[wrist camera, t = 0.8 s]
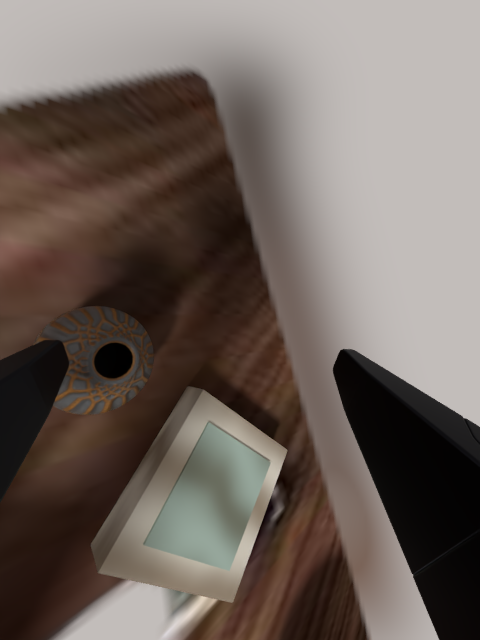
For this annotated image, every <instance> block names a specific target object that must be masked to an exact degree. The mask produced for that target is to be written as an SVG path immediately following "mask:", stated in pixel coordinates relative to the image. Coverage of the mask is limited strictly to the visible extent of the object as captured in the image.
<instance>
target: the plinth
mask: <svg viewBox="0 0 480 640" xmlns="http://www.w3.org/2000/svg"><path fill="white" fill-rule="evenodd" d="M286 453H287V449H285V448H284V447H282V446H281V445H280V444H278V443H277V442H275V441H274V440H273V439H271V438H270V437H268V436H267V435H266V434H264V433H263V432H262V431H260V430H259V429H257V428H256V427H255V426H253V425H252V424H250V423H249V422H248V421H246V420H245V419H244V418H242V417H241V416H239V415H238V414H237V413H235V412H234V411H232V410H231V409H230V408H228V407H227V406H226V405H224V404H223V403H221V402H220V401H219V400H217V399H216V398H214V397H213V396H212V395H210V394H209V393H208V392H206V391H205V390H203V389H199V388H195V387H190V386H187V388H186V389H185V391H184V393H183V394H182V396H181V398H180V399H179V401H178V403H177V404H176V406H175V407H174V409H173V411H172V412H171V414H170V416H169V417H168V419H167V420H166V422H165V424H164V425H163V427H162V429H161V430H160V432H159V434H158V435H157V437H156V438H155V440H154V442H153V443H152V445H151V447H150V448H149V450H148V452H147V453H146V455H145V456H144V458H143V460H142V461H141V463H140V465H139V466H138V468H137V470H136V471H135V473H134V474H133V476H132V478H131V479H130V481H129V483H128V484H127V486H126V488H125V489H124V491H123V492H122V494H121V496H120V497H119V499H118V501H117V502H116V504H115V506H114V507H113V509H112V510H111V512H110V514H109V515H108V517H107V519H106V520H105V522H104V524H103V525H102V527H101V528H100V530H99V532H98V533H97V535H96V537H95V538H94V540H93V542H92V543H91V548H92V552H93V556H94V560H95V564H96V568H97V572H98V573H100V574H105V575H109V576H114V577H118V578H123V579H127V580H132V581H136V582H141V583H145V584H150V585H155V586H159V587H164V588H168V589H173V590H177V591H182V592H186V593H191V594H195V595H200V596H204V597H209V598H213V599H218V600H223V601H227V602H232V603H233V601H234V598H235V595H236V592H237V589H238V587H239V584H240V581H241V578H242V575H243V573H244V570H245V567H246V564H247V562H248V559H249V556H250V553H251V550H252V548H253V545H254V542H255V539H256V537H257V534H258V531H259V528H260V525H261V523H262V520H263V517H264V514H265V511H266V509H267V506H268V503H269V500H270V498H271V495H272V492H273V489H274V486H275V484H276V481H277V478H278V475H279V473H280V470H281V467H282V464H283V461H284V459H285V456H286Z"/></svg>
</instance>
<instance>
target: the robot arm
mask: <svg viewBox="0 0 480 640" xmlns="http://www.w3.org/2000/svg"><path fill="white" fill-rule="evenodd" d="M68 368H69V359H68V356H67V353H66V350H65V347H64V344H63V342H62V341H60V340H43V341H41V342H39V343H37V344H35V345H32V346H30V347H28V348H26V349H24V350H22V351H19V352H17V353H15V354H13V355H11V356H9V357H6V358H4V359H2V360H0V502H1V500H2V499H3V497H4V495H5V493H6V491H7V489H8V488H9V486H10V484H11V482H12V480H13V479H14V477H15V475H16V473H17V471H18V470H19V468H20V466H21V464H22V462H23V461H24V459H25V457H26V455H27V453H28V451H29V450H30V448H31V446H32V444H33V442H34V441H35V439H36V437H37V435H38V433H39V432H40V430H41V428H42V426H43V424H44V423H45V421H46V419H47V417H48V415H49V413H50V411H51V409H52V406H53V404H54V402H55V399H56V397H57V394H58V392H59V390H60V387H61V385H62V382H63V380H64V378H65V375H66V373H67V370H68ZM333 374H334V377H335V380H336V384H337V387H338V390H339V394H340V397H341V401H342V404H343V407H344V410H345V413H346V416H347V418H348V421H349V423H350V425H351V428H352V430H353V433H354V435H355V438H356V440H357V443H358V445H359V447H360V450H361V452H362V454H363V457H364V459H365V462H366V464H367V466H368V469H369V471H370V474H371V476H372V478H373V481H374V483H375V486H376V488H377V490H378V493H379V495H380V498H381V500H382V503H383V505H384V507H385V510H386V512H387V515H388V517H389V519H390V522H391V524H392V526H393V529H394V532H395V534H396V536H397V539H398V541H399V543H400V546H401V548H402V551H403V553H404V556H405V558H406V560H407V563H408V565H409V567H410V570H411V572H412V574H413V578H414V580H415V582H416V585H417V587H418V590H419V592H420V594H421V597H422V599H423V602H424V604H425V606H426V609H427V611H428V614H429V616H430V618H431V621H432V623H433V626H434V628H435V631H436V633H437V635H438V638H439V640H480V427H479V426H477V425H476V424H474V423H473V422H471V421H469V420H468V419H465V418H463V417H462V416H461V415H459V414H458V413H456V412H455V411H453V410H451V409H449V408H448V407H446V406H445V405H443V404H441V403H440V402H438V401H436V400H435V399H433V398H431V397H430V396H428V395H427V394H425V393H423V392H422V391H420V390H419V389H417V388H415V387H414V386H412V385H410V384H409V383H407V382H406V381H404V380H402V379H401V378H399V377H397V376H396V375H394V374H392V373H391V372H389V371H388V370H386V369H384V368H383V367H381V366H379V365H378V364H376V363H375V362H373V361H371V360H369V359H368V358H366V357H365V356H363V355H361V354H360V353H358V352H357V351H355V350H352V349H343V350H341V351H340V352H339V354H338V357H337V360H336V361H335V364H334V367H333Z"/></svg>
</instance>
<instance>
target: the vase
mask: <svg viewBox="0 0 480 640" xmlns="http://www.w3.org/2000/svg"><path fill="white" fill-rule="evenodd" d="M43 340H60V341H62V342H63V344H64V347H65V350H66V353H67V356H68V359H69V368H68V370H67V373H66V375H65V378H64V380H63V382H62V385H61V387H60V390H59V392H58V394H57V397H56V399H55V402H54V404H53V406H54V407H56V408H58V409H60V410H63V411H66V412H69V413H73V414H80V415H92V414H100V413H104V412H108V411H111V410H113V409H116V408H118V407H120V406H122V405H124V404H125V403H127V402H128V401H130V400H131V399H132V398H134V397H135V396H136V395H137V394H138V393H139V392H140V391H141V389H142V388H143V387H144V385H145V384H146V382H147V380H148V378H149V376H150V374H151V371H152V367H153V362H154V351H153V345H152V342H151V339H150V337H149V335H148V333H147V331H146V330H145V329H144V327H143V326H142V325H141V324H140V323H139V322H138V321H137V320H136V319H135V318H133V317H132V316H130V315H129V314H127V313H125V312H123V311H120V310H117V309H114V308H110V307H104V306H88V307H82V308H77V309H74V310H71V311H68V312H66V313H64V314H62V315H60V316H58V317H57V318H55V319H54V320H53V321H51V322H50V323H49V324H48V325H47V326H46V327H45V328H44V329H43V330H42V331H41V332H40V334H39V335H38V337H37V338H36V340H35V342H34V344H33V345H35V344H37V343H39V342H41V341H43Z"/></svg>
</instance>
